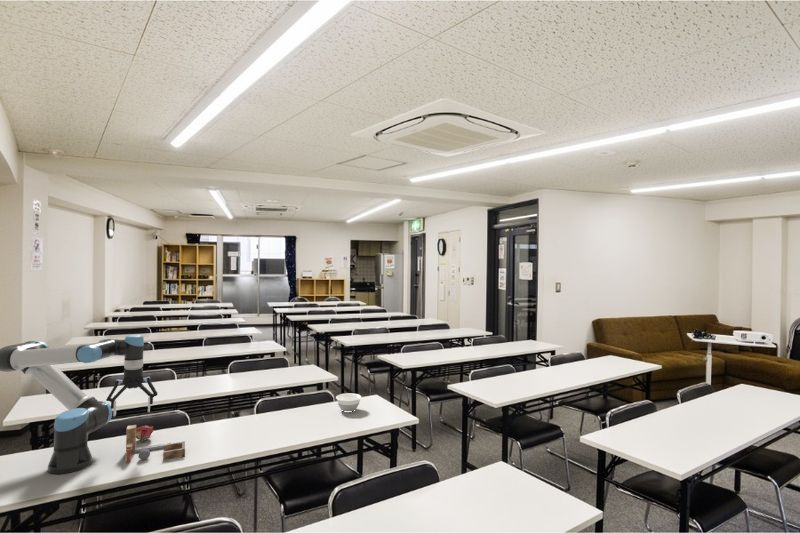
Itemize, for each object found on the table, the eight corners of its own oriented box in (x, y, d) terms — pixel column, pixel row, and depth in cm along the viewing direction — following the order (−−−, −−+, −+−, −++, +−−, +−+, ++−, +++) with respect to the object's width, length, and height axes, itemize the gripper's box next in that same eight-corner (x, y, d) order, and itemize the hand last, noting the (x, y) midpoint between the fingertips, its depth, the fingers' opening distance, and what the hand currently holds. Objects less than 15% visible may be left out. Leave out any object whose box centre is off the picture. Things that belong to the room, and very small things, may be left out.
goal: (163, 460, 188) (163, 452, 188) (163, 452, 197) (163, 444, 197) (184, 456, 192) (185, 448, 192) (184, 448, 201) (184, 441, 201)
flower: (156, 438, 208) (156, 422, 212) (136, 440, 201) (136, 423, 205) (148, 445, 212) (149, 430, 216) (128, 447, 206) (129, 431, 210)
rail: (126, 454, 193) (126, 451, 193) (127, 452, 195) (127, 449, 195) (170, 447, 202) (170, 444, 202) (170, 445, 204) (171, 442, 204)
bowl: (332, 413, 253) (332, 399, 253) (340, 405, 269) (340, 392, 269) (357, 415, 251) (357, 401, 251) (364, 407, 266) (364, 394, 266)
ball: (138, 462, 186) (138, 452, 186) (138, 458, 190) (139, 448, 190) (149, 460, 188) (149, 450, 188) (150, 456, 192) (150, 446, 192)
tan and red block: (123, 463, 184) (124, 436, 184) (126, 450, 196) (127, 425, 196) (133, 461, 185) (133, 435, 186) (135, 449, 198) (136, 424, 198)
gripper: (100, 372, 187) (98, 419, 186) (163, 367, 199) (162, 411, 198) (102, 368, 193) (100, 414, 193) (164, 364, 205) (162, 407, 205)
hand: (132, 413), depth 196 cm, fingers open, 13 cm apart
